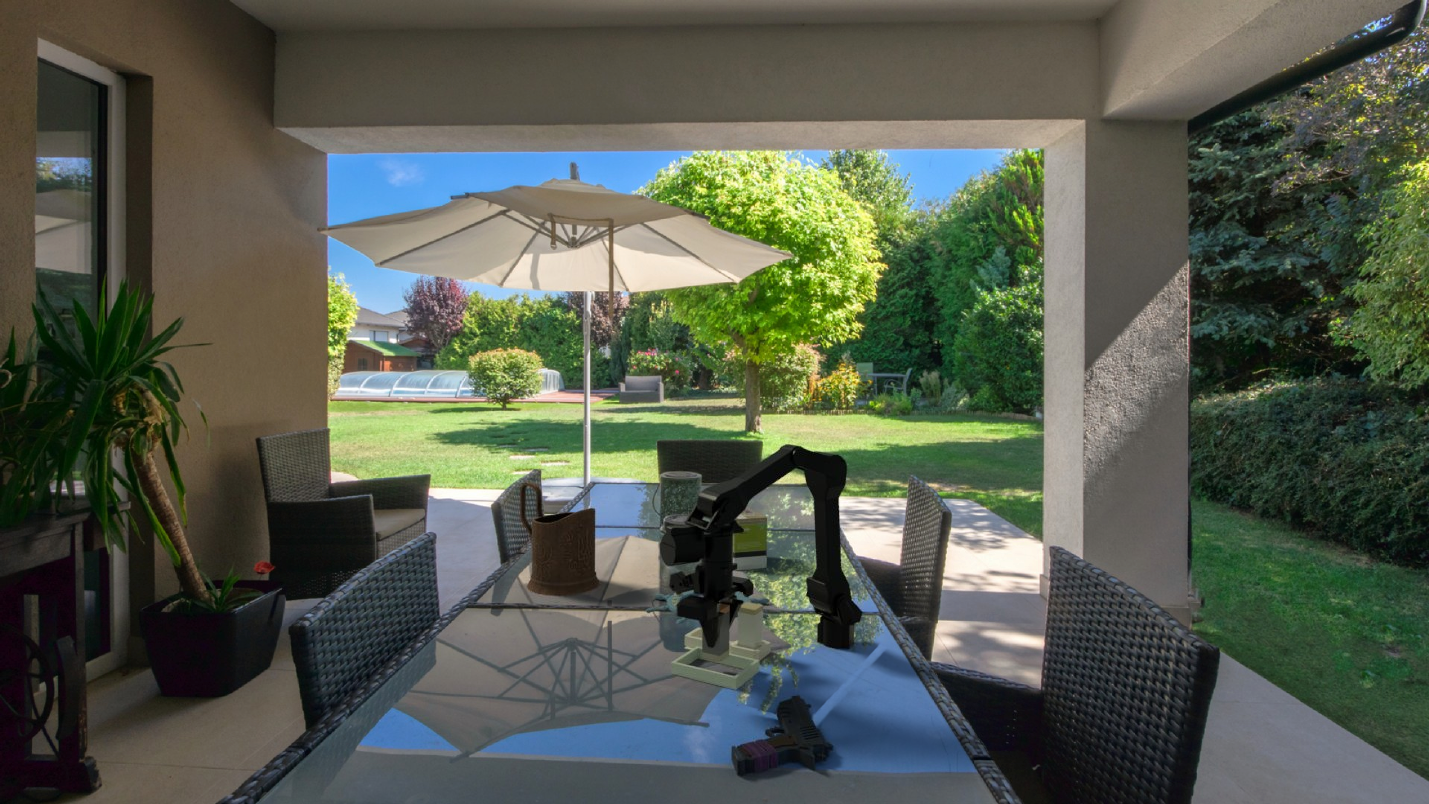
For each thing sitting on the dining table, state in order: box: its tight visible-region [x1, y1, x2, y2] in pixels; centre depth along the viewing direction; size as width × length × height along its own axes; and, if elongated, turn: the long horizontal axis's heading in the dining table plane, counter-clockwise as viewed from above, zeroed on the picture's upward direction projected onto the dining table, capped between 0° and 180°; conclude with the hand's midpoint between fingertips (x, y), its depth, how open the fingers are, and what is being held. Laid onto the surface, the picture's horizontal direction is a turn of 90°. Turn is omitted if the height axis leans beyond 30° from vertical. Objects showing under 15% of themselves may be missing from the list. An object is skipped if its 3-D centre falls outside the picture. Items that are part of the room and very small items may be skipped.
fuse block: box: [684, 626, 772, 662], centre depth 149 cm, size 16×8×3 cm, turn 61°
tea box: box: [733, 506, 768, 572], centre depth 217 cm, size 15×10×15 cm
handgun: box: [730, 694, 834, 776], centre depth 116 cm, size 3×20×15 cm
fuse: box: [737, 602, 764, 650], centre depth 146 cm, size 4×4×9 cm
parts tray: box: [670, 646, 760, 691], centre depth 138 cm, size 13×9×3 cm
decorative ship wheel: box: [645, 590, 770, 625], centre depth 176 cm, size 30×3×30 cm
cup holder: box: [519, 482, 601, 597], centre depth 194 cm, size 18×24×25 cm
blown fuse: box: [701, 603, 731, 664], centre depth 137 cm, size 4×4×9 cm
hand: (716, 643), depth 137 cm, fingers closed on blown fuse, 4 cm apart
